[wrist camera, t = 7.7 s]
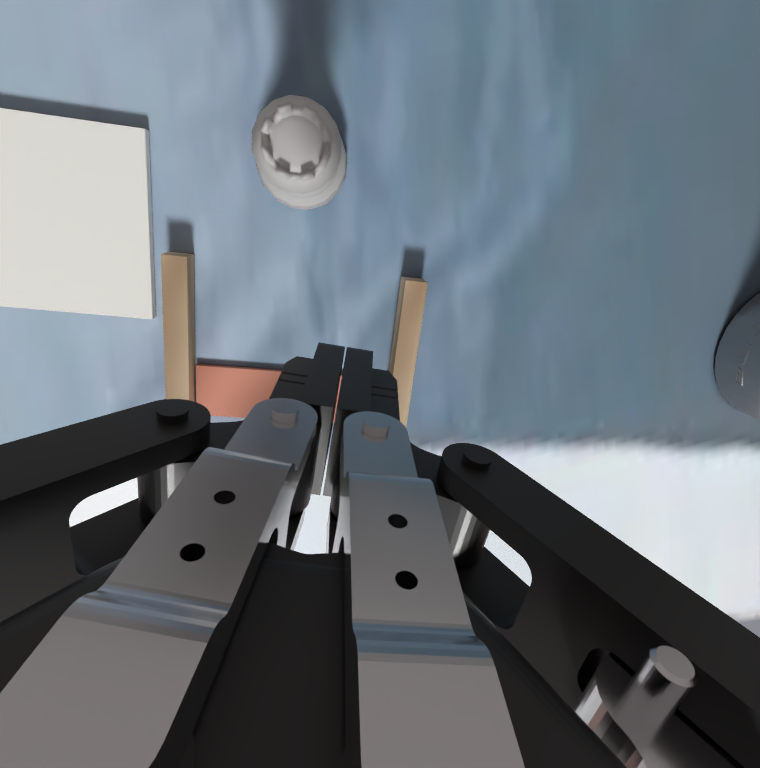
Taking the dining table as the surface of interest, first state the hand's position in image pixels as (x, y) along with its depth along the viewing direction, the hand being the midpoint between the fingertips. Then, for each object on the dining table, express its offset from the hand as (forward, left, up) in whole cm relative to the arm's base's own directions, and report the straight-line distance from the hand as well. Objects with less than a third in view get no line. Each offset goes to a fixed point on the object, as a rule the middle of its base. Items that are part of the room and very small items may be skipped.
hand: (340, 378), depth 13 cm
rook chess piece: (+2, -6, -14) cm, 16 cm away
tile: (+14, -2, -14) cm, 20 cm away
